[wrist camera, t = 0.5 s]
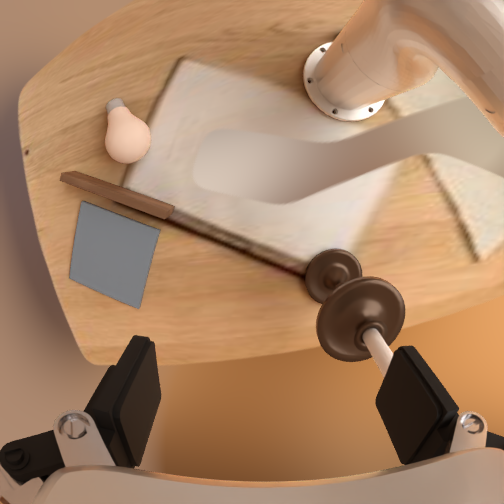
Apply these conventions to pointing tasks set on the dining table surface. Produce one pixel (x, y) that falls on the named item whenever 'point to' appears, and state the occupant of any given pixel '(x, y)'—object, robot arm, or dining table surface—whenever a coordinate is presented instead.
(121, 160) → the light bulb
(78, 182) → the low wall
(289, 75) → the dining table surface
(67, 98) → the dining table surface
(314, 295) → the candlestick
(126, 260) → the mat
